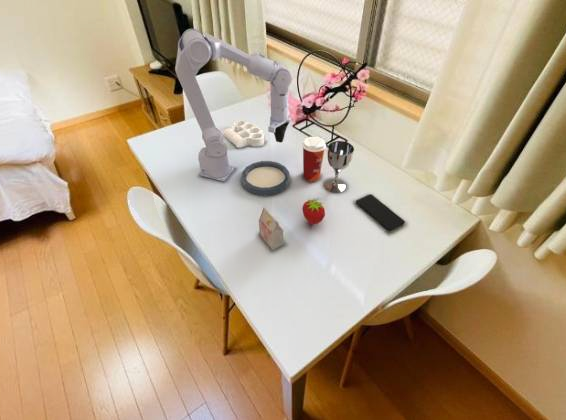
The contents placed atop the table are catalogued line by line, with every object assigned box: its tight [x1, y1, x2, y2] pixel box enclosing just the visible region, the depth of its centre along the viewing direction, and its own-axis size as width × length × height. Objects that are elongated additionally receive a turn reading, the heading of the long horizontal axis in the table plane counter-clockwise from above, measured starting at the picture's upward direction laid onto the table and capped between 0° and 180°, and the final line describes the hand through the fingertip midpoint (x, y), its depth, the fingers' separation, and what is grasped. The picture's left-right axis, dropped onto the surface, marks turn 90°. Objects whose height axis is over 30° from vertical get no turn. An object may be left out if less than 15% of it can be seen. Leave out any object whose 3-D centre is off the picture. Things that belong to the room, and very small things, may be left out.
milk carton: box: [258, 206, 284, 251], centre depth 82 cm, size 4×7×10 cm, turn 33°
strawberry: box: [301, 198, 326, 226], centre depth 87 cm, size 6×8×10 cm
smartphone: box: [355, 194, 406, 232], centre depth 94 cm, size 7×1×15 cm
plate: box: [241, 160, 290, 197], centre depth 104 cm, size 16×16×3 cm
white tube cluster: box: [221, 119, 265, 149], centre depth 124 cm, size 3×18×15 cm
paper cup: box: [301, 136, 327, 182], centre depth 102 cm, size 8×8×14 cm
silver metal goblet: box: [324, 140, 355, 194], centre depth 98 cm, size 8×8×15 cm
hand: (279, 141), depth 108 cm, fingers closed
